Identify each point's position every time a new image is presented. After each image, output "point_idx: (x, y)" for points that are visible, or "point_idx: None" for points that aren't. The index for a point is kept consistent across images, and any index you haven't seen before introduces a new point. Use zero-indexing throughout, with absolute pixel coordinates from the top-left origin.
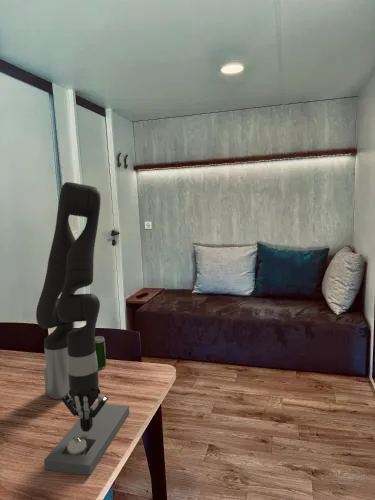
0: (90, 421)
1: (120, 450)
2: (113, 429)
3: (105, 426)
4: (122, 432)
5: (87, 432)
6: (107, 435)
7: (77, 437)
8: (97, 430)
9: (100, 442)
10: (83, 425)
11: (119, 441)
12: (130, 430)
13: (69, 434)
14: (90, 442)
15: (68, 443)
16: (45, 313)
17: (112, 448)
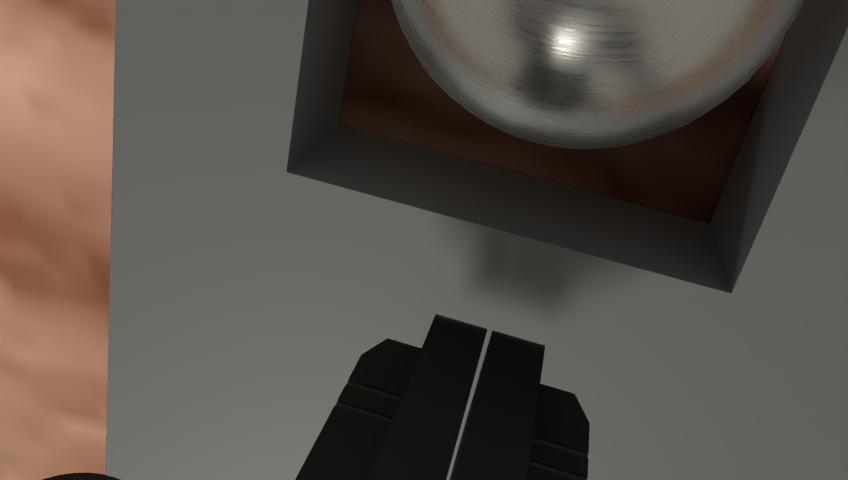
0: (310, 464)
1: (5, 50)
2: (108, 382)
3: (250, 469)
4: None
5: None
6: (140, 255)
7: (585, 64)
8: None
9: (188, 83)
10: (499, 412)
11: (86, 237)
12: (35, 414)
13: (833, 386)
14: (415, 181)
15: (815, 122)
16: None
17: None
